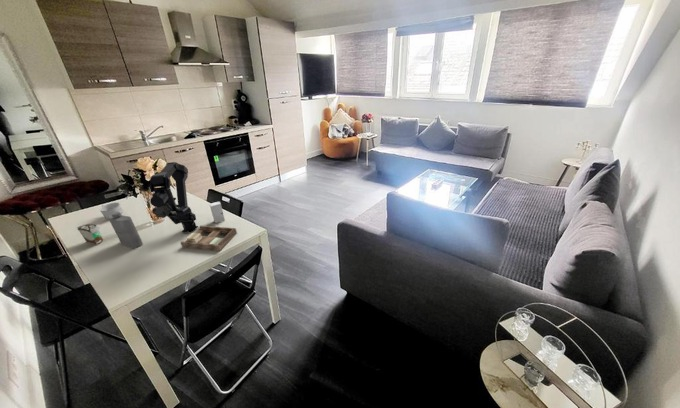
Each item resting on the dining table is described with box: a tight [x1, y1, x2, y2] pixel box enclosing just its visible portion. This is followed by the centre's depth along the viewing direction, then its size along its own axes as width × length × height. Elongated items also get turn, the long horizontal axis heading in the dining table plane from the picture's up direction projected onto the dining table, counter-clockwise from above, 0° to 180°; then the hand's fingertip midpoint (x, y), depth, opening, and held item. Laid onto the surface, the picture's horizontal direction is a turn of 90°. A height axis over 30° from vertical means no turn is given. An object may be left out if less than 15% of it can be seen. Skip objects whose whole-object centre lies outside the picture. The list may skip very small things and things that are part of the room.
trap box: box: [180, 225, 238, 252], centre depth 148 cm, size 23×17×4 cm
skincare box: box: [209, 201, 226, 224], centre depth 165 cm, size 6×4×12 cm
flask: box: [107, 212, 144, 249], centre depth 144 cm, size 15×6×20 cm, turn 66°
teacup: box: [99, 201, 124, 219], centre depth 176 cm, size 14×11×8 cm
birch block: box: [186, 232, 202, 243], centre depth 145 cm, size 5×5×3 cm
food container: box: [76, 223, 104, 246], centre depth 150 cm, size 12×6×10 cm, turn 71°
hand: (176, 223), depth 142 cm, fingers closed
